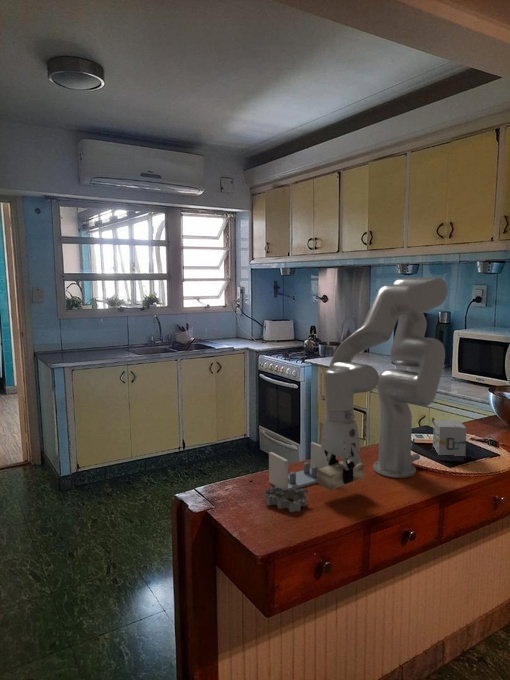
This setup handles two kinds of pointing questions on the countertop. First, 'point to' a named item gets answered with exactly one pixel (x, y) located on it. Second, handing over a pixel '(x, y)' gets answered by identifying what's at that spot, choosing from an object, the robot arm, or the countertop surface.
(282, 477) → the peg stand
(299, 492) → the egg carton
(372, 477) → the countertop surface
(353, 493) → the countertop surface
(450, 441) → the ink box
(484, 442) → the countertop surface
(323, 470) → the beige wavy block
